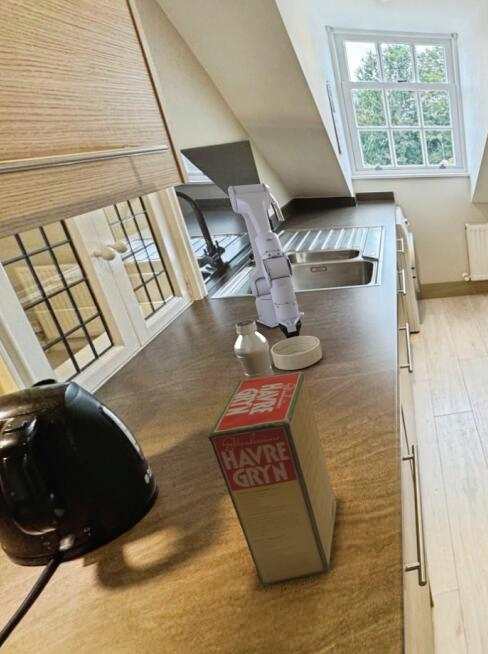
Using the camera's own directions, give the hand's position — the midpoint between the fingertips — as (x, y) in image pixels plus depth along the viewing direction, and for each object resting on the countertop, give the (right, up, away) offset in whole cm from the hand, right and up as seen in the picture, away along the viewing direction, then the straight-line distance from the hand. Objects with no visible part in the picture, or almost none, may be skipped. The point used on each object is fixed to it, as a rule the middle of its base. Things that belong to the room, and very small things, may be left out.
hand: (295, 346), depth 127 cm
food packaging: (+27, -26, -59) cm, 70 cm away
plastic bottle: (+5, -12, -25) cm, 28 cm away
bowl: (+4, -3, -6) cm, 8 cm away
